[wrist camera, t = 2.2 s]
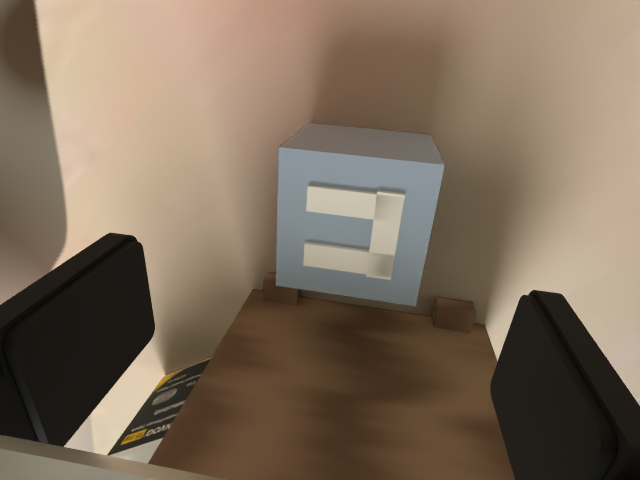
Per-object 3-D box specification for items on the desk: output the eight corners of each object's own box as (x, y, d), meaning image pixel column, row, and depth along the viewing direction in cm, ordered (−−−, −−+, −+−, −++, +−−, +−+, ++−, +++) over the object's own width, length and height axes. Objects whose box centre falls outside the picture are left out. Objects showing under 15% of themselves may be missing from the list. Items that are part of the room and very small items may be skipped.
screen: (491, 305, 22) (614, 620, 10) (474, 359, 24) (561, 687, 12) (252, 270, 24) (99, 501, 12) (252, 323, 26) (120, 574, 13)
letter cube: (430, 134, 19) (445, 166, 14) (410, 244, 22) (415, 309, 16) (309, 122, 20) (277, 148, 14) (303, 230, 23) (274, 287, 17)
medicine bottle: (237, 344, 27) (133, 536, 16) (292, 416, 29) (233, 629, 18) (162, 374, 29) (30, 558, 19) (218, 439, 31) (127, 638, 21)
